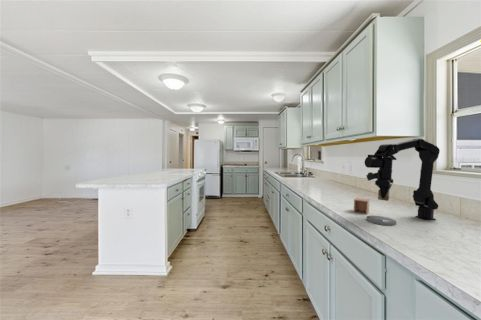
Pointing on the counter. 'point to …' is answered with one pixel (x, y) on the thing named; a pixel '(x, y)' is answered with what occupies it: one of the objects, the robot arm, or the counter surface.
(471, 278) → the counter surface
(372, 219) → the slate dish
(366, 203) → the terracotta hood
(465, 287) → the counter surface
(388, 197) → the walnut block
